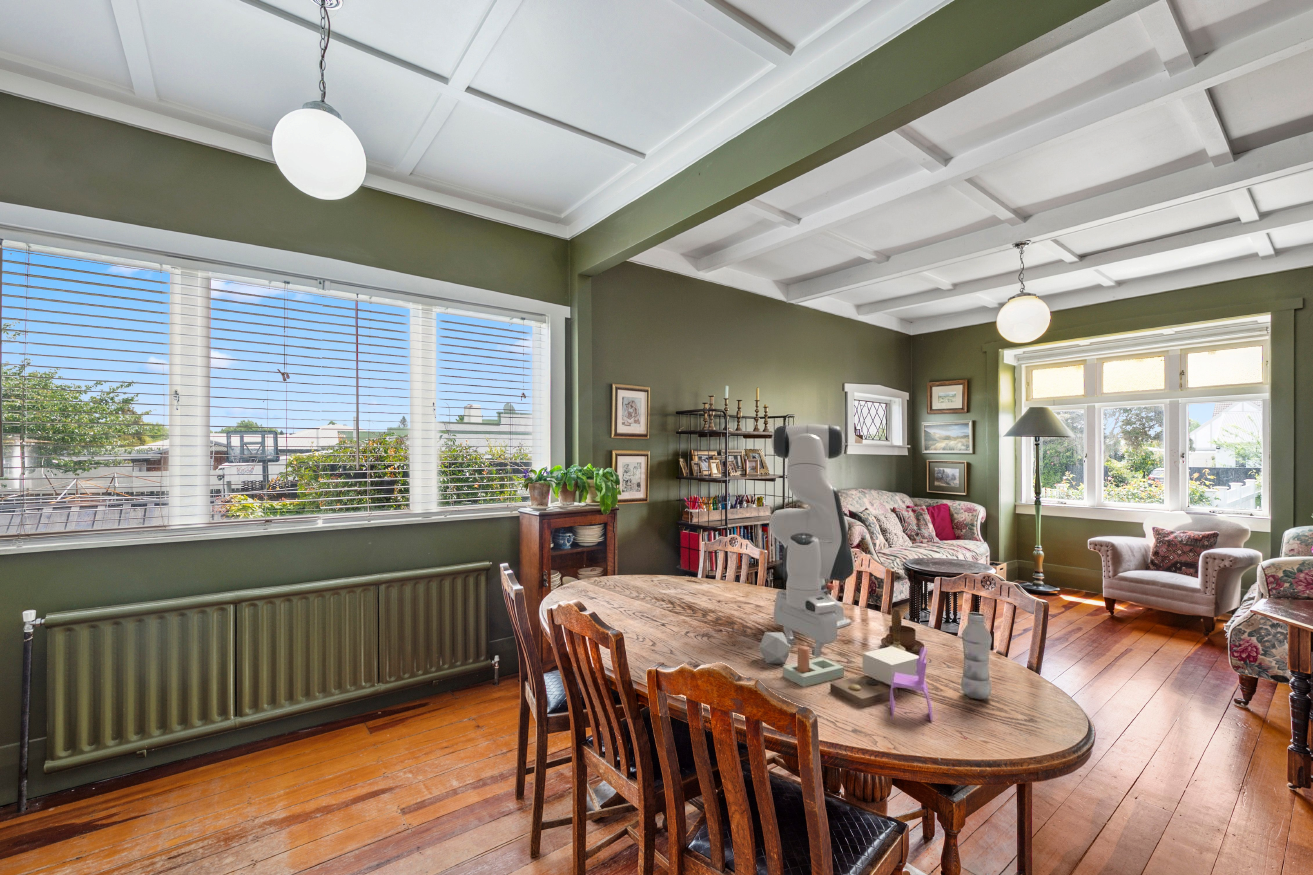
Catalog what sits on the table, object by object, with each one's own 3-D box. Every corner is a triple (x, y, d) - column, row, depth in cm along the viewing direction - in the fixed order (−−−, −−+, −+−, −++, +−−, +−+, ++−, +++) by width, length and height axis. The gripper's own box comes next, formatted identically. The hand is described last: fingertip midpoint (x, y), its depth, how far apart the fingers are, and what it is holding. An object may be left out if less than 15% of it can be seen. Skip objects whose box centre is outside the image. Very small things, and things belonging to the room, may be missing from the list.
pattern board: (864, 682, 151) (864, 672, 151) (897, 697, 142) (897, 687, 142) (830, 691, 145) (830, 681, 145) (862, 707, 136) (862, 697, 136)
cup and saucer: (912, 659, 167) (912, 638, 167) (873, 648, 176) (873, 627, 176) (931, 650, 175) (931, 629, 175) (893, 639, 184) (893, 620, 184)
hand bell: (875, 667, 161) (876, 609, 161) (887, 659, 167) (888, 603, 167) (906, 675, 155) (907, 615, 155) (917, 667, 161) (918, 609, 161)
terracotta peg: (803, 675, 154) (803, 645, 154) (811, 679, 152) (811, 648, 152) (794, 677, 153) (795, 647, 153) (802, 682, 150) (803, 650, 150)
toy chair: (891, 701, 139) (892, 638, 139) (932, 709, 136) (932, 644, 136) (889, 716, 132) (889, 649, 132) (932, 724, 128) (932, 655, 128)
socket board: (821, 666, 161) (821, 657, 161) (844, 676, 154) (844, 667, 154) (782, 675, 154) (782, 666, 154) (803, 687, 147) (803, 677, 147)
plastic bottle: (954, 694, 144) (954, 612, 144) (974, 689, 146) (974, 609, 147) (978, 705, 138) (978, 619, 138) (998, 700, 140) (998, 616, 141)
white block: (891, 665, 155) (892, 646, 155) (921, 677, 147) (921, 657, 147) (862, 672, 149) (862, 653, 150) (892, 685, 142) (892, 664, 142)
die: (783, 672, 158) (799, 640, 161) (755, 654, 160) (772, 623, 163) (777, 672, 166) (792, 641, 169) (750, 655, 168) (766, 625, 171)
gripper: (768, 589, 160) (768, 639, 161) (822, 609, 143) (822, 665, 143) (785, 586, 163) (785, 635, 164) (841, 605, 146) (841, 660, 146)
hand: (803, 649), depth 153 cm, fingers open, 8 cm apart
